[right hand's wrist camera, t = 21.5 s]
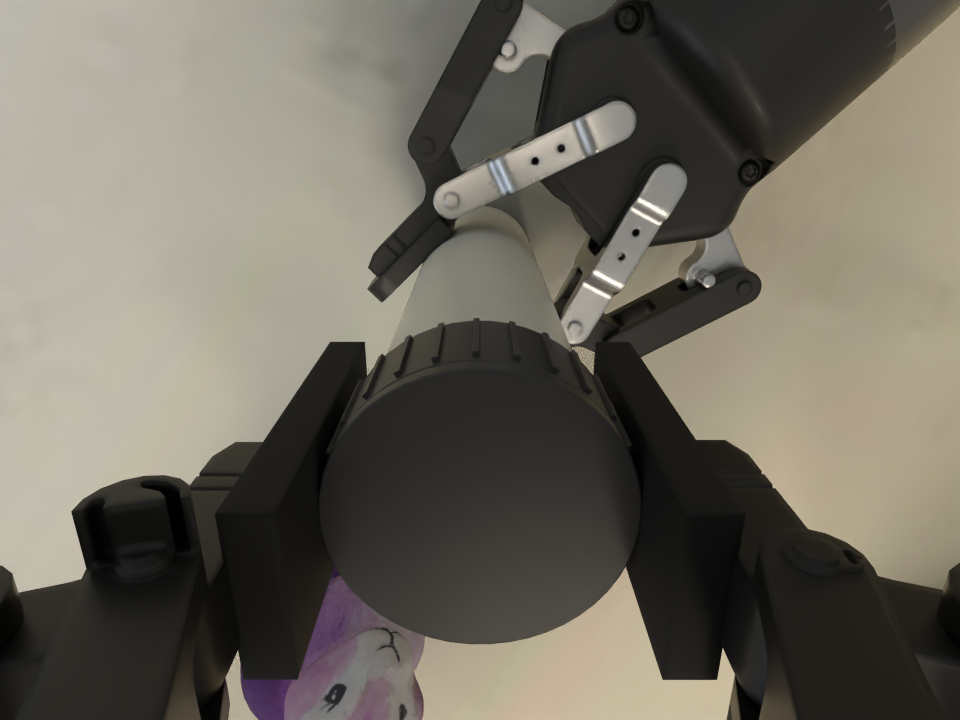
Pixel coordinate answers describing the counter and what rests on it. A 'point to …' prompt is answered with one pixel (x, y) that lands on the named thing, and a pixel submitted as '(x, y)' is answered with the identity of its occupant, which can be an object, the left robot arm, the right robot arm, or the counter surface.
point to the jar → (481, 280)
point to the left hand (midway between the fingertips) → (430, 338)
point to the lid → (480, 485)
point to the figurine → (347, 668)
